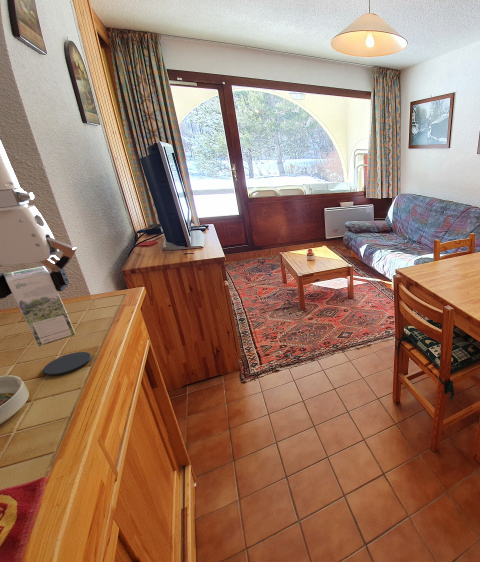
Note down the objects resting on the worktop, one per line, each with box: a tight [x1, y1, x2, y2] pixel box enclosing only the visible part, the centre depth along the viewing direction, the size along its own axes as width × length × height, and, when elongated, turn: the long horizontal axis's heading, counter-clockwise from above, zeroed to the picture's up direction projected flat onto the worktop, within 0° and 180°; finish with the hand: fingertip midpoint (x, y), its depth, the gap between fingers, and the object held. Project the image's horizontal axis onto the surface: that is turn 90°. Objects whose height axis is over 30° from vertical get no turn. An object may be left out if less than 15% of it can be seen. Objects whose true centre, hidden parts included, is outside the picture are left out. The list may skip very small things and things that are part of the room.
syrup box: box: [4, 265, 76, 347], centre depth 62 cm, size 6×6×14 cm
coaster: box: [42, 351, 92, 377], centre depth 67 cm, size 8×8×1 cm
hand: (35, 291), depth 60 cm, fingers closed on syrup box, 7 cm apart
